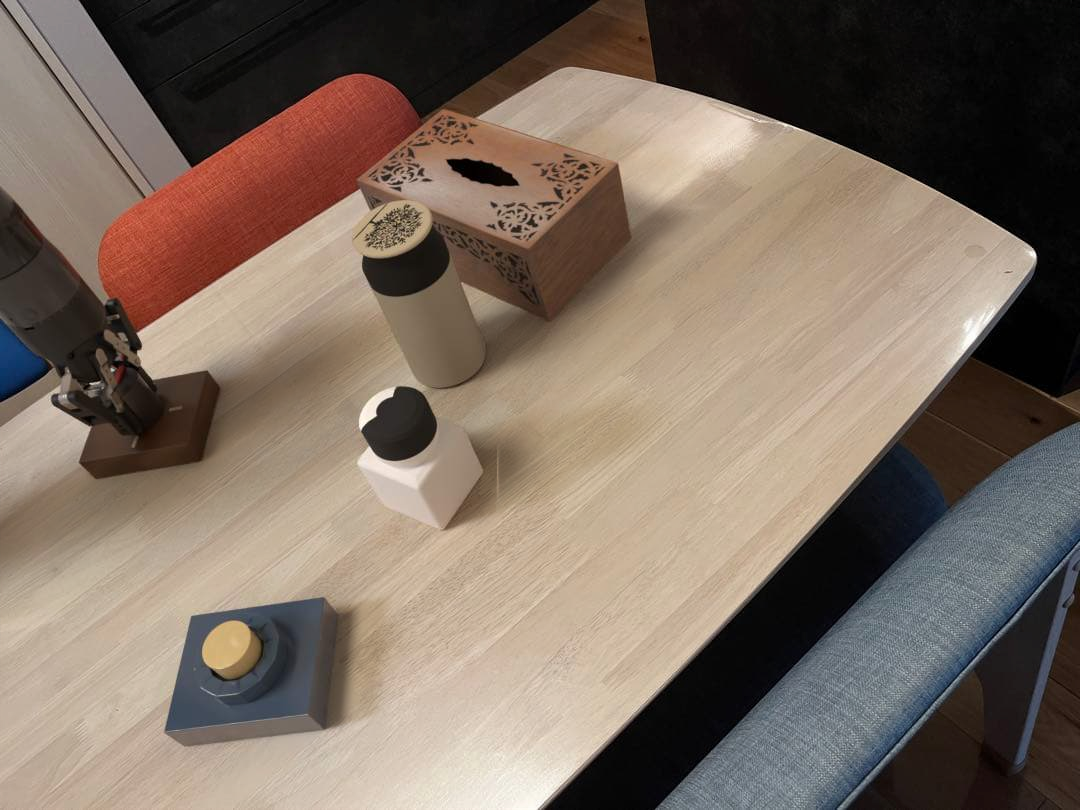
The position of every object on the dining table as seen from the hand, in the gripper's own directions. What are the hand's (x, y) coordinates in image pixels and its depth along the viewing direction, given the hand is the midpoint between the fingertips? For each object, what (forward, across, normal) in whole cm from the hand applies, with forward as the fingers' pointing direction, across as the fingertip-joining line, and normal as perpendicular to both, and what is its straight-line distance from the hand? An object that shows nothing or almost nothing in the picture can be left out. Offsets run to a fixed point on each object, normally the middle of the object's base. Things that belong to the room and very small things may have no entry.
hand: (141, 412), depth 94 cm
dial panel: (+4, 0, 0) cm, 4 cm away
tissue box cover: (+4, -21, +38) cm, 43 cm away
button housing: (+4, +29, +17) cm, 34 cm away
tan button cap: (-1, +29, +17) cm, 34 cm away
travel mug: (+4, -4, +32) cm, 32 cm away
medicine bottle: (+4, +12, +31) cm, 34 cm away
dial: (0, 0, 0) cm, 0 cm away
